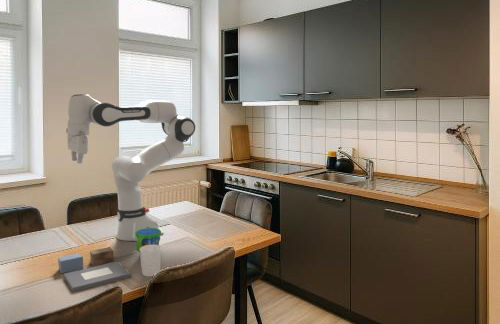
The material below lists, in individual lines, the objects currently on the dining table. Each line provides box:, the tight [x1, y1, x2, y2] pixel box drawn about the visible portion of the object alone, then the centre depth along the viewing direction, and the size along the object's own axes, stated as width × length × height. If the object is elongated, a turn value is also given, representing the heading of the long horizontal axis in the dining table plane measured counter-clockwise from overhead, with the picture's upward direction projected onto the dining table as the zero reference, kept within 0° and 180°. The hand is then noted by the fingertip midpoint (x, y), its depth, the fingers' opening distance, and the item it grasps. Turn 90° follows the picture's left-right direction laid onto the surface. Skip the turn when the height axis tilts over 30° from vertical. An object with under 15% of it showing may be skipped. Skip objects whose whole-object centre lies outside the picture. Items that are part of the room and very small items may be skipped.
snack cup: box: [135, 228, 161, 253], centre depth 171 cm, size 16×10×10 cm
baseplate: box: [63, 261, 131, 293], centre depth 148 cm, size 20×14×2 cm
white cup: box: [139, 244, 162, 277], centre depth 152 cm, size 8×8×10 cm
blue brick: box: [57, 252, 84, 274], centre depth 156 cm, size 8×4×5 cm, turn 126°
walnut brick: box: [89, 246, 115, 267], centre depth 163 cm, size 8×4×5 cm, turn 126°
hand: (76, 162), depth 175 cm, fingers open, 8 cm apart
